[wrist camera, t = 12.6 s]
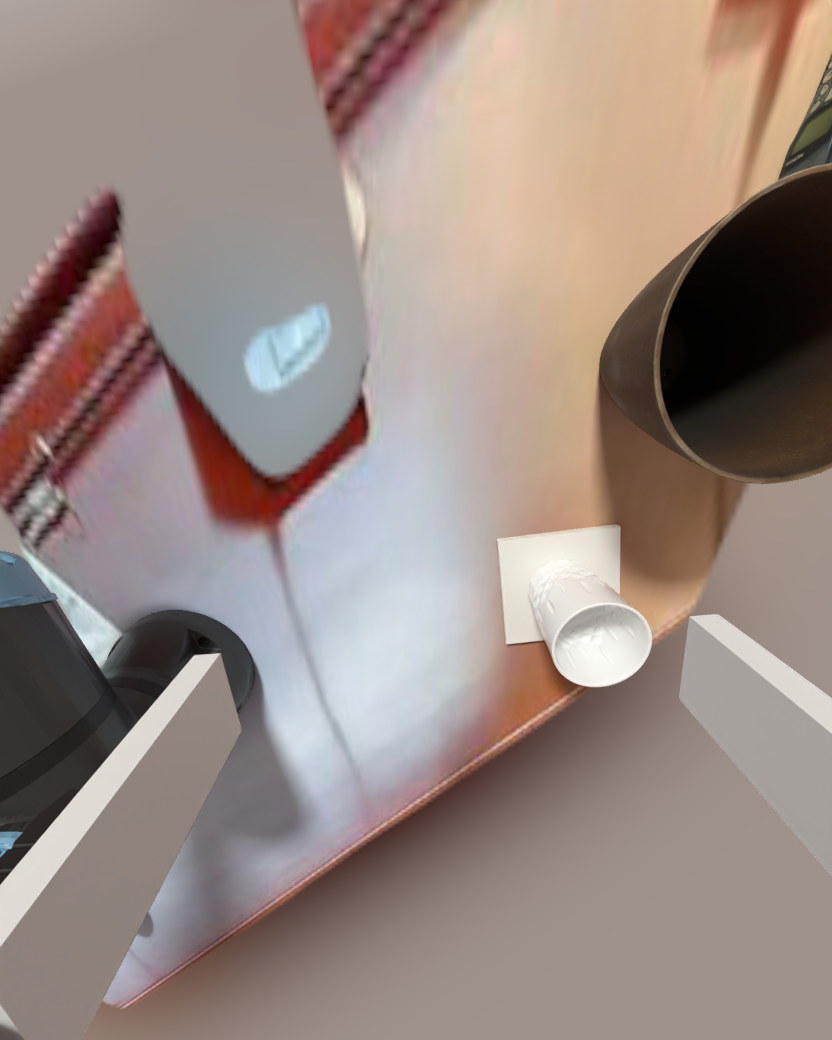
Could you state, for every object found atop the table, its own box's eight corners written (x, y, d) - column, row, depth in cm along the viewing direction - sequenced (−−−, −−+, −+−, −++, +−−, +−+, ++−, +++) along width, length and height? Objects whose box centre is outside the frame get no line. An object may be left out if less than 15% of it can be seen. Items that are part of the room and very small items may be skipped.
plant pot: (746, 401, 37) (977, 409, 21) (589, 473, 39) (697, 526, 24) (704, 228, 33) (952, 87, 17) (531, 319, 35) (617, 265, 20)
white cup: (598, 547, 40) (653, 596, 31) (600, 616, 43) (651, 681, 33) (518, 559, 41) (549, 610, 31) (525, 626, 43) (555, 693, 34)
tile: (504, 640, 45) (506, 644, 44) (496, 538, 41) (497, 541, 40) (615, 627, 44) (618, 631, 43) (616, 524, 40) (620, 526, 40)
